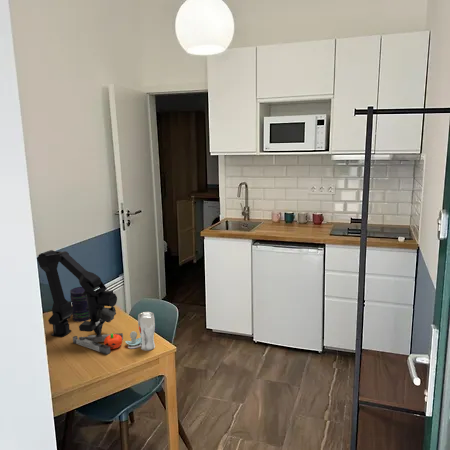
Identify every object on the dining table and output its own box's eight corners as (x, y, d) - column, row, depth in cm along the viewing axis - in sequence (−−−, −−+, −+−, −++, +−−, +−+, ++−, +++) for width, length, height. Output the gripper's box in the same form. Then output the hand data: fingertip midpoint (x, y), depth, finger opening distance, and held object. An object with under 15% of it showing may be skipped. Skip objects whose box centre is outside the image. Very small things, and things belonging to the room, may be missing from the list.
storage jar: (88, 312, 217) (85, 285, 214) (96, 317, 210) (94, 289, 207) (69, 317, 210) (66, 289, 207) (77, 323, 203) (74, 294, 200)
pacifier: (144, 347, 179) (141, 341, 184) (144, 333, 177) (140, 328, 183) (127, 351, 176) (124, 344, 181) (127, 337, 174) (123, 331, 180)
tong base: (72, 342, 183) (71, 336, 183) (75, 341, 185) (75, 335, 184) (106, 355, 172) (106, 348, 172) (110, 352, 174) (110, 346, 173)
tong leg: (78, 343, 183) (78, 337, 182) (79, 340, 185) (79, 335, 184) (122, 340, 184) (121, 335, 183) (123, 338, 186) (122, 333, 185)
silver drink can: (152, 351, 174) (150, 318, 171) (137, 350, 175) (134, 317, 172) (158, 344, 181) (156, 311, 178) (143, 342, 182) (141, 310, 179)
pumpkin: (125, 348, 179) (125, 335, 177) (107, 353, 175) (106, 340, 173) (119, 340, 185) (118, 327, 183) (101, 345, 180) (100, 332, 178)
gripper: (99, 314, 171) (103, 348, 175) (121, 296, 189) (125, 328, 192) (75, 312, 174) (81, 346, 178) (100, 295, 192) (104, 326, 195)
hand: (99, 336), depth 186 cm, fingers closed
